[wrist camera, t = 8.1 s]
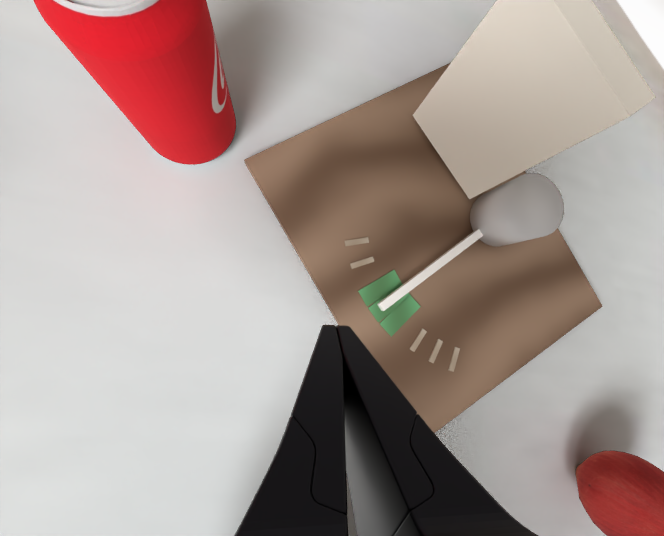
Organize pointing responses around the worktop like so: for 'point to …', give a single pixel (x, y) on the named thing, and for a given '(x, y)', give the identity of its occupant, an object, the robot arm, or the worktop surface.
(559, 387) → the worktop surface
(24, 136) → the worktop surface
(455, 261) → the dial board
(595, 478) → the red oval piece
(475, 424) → the worktop surface
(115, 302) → the worktop surface
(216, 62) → the beverage can
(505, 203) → the white panel with rod
